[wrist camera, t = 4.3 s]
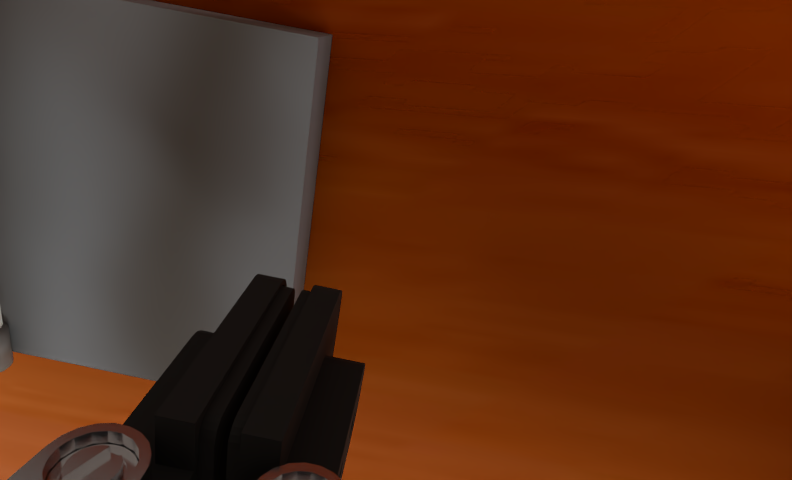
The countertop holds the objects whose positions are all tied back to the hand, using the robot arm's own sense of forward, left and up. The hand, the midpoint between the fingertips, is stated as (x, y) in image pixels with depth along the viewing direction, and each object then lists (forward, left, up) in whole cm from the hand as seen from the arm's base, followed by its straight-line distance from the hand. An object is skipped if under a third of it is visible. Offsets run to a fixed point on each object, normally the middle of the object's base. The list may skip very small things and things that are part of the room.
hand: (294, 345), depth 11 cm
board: (+10, 0, -6) cm, 12 cm away
